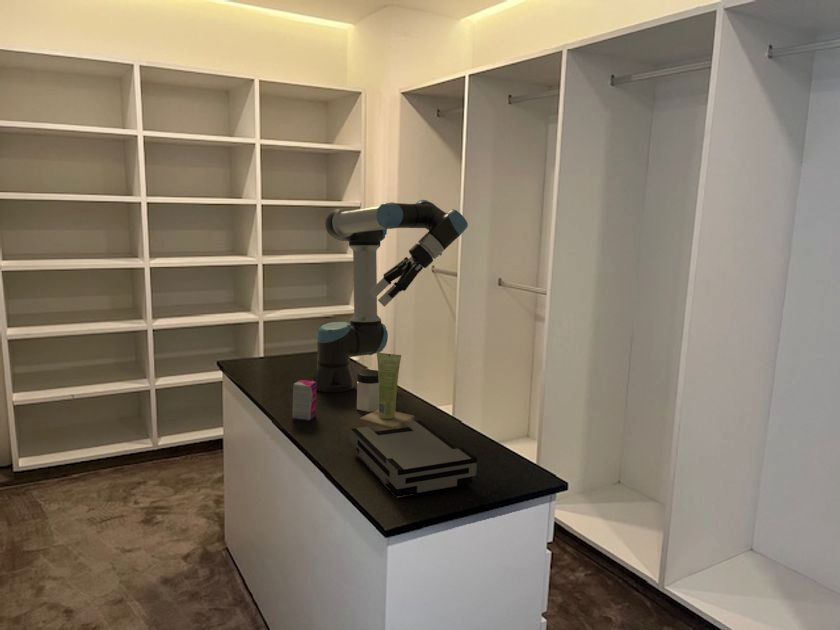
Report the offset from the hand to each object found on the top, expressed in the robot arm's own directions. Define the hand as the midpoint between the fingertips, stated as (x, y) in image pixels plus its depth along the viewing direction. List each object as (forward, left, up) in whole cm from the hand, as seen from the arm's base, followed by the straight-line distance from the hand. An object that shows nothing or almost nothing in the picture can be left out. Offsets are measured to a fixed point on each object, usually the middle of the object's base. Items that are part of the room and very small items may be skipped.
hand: (375, 299), depth 194 cm
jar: (-9, -7, -38) cm, 40 cm away
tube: (+5, +9, -34) cm, 36 cm away
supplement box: (+12, -18, -38) cm, 44 cm away
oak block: (+5, +9, -38) cm, 39 cm away
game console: (+26, +29, -39) cm, 55 cm away
